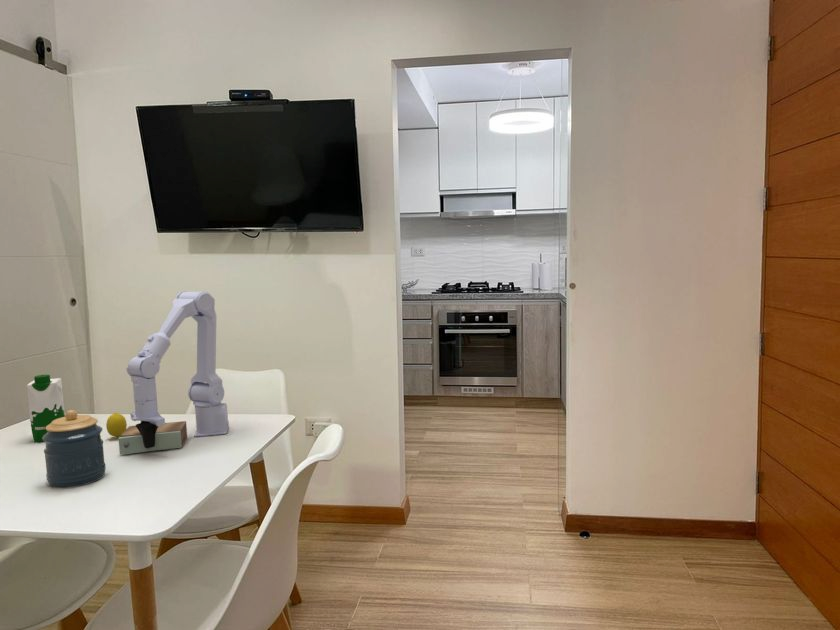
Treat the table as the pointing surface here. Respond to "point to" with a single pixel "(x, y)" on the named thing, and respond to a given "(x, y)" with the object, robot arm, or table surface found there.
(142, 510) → the table surface
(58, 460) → the canister
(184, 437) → the cabinet
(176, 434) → the door
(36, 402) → the milk carton
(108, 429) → the lemon
